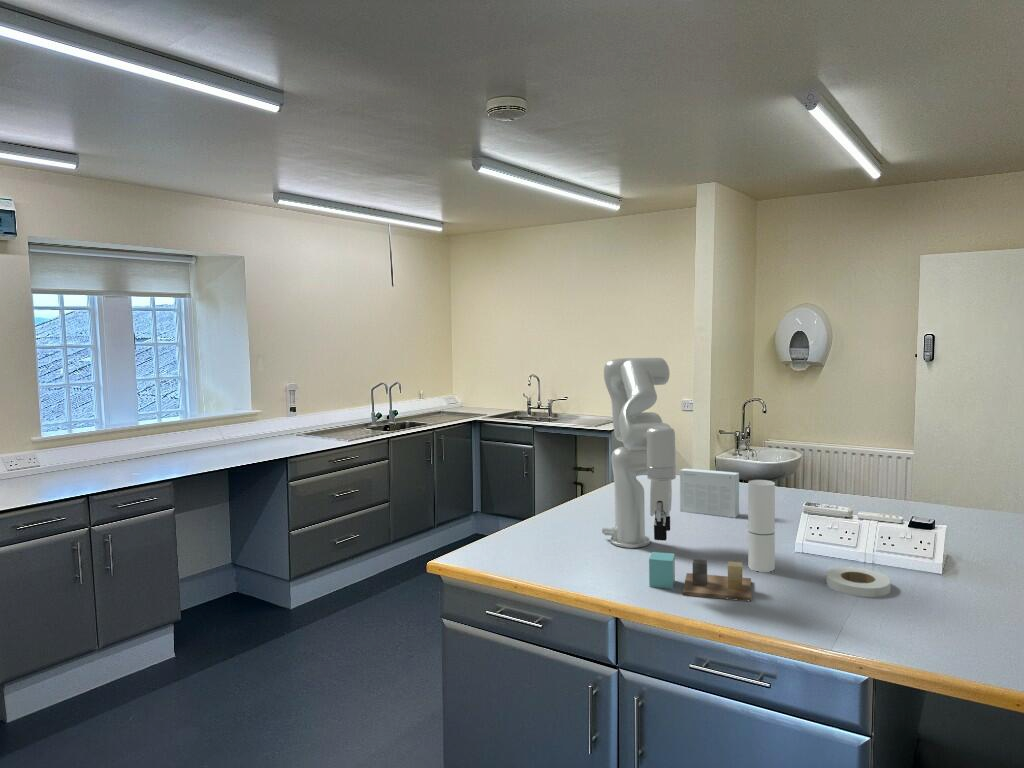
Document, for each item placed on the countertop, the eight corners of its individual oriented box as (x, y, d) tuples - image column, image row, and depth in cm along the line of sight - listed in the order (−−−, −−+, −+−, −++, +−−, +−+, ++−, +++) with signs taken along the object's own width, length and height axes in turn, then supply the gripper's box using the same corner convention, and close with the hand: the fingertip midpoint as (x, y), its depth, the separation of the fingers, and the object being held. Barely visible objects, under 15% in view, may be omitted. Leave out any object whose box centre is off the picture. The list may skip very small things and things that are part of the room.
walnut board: (682, 595, 182) (682, 569, 181) (686, 576, 195) (686, 552, 195) (751, 601, 177) (751, 574, 176) (750, 581, 190) (750, 556, 189)
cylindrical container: (774, 565, 202) (774, 480, 200) (774, 573, 196) (775, 486, 194) (748, 562, 205) (748, 479, 203) (748, 571, 198) (748, 484, 196)
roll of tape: (888, 602, 175) (888, 591, 174) (822, 591, 183) (822, 581, 182) (892, 582, 188) (892, 572, 187) (830, 573, 196) (830, 563, 195)
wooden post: (727, 588, 183) (727, 565, 183) (728, 583, 187) (728, 561, 186) (742, 589, 182) (742, 567, 182) (742, 584, 186) (742, 562, 185)
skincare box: (739, 514, 256) (739, 472, 255) (735, 518, 252) (735, 475, 250) (684, 508, 267) (683, 467, 266) (679, 511, 263) (678, 470, 262)
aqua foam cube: (649, 586, 188) (649, 559, 188) (652, 578, 194) (651, 551, 194) (672, 588, 187) (672, 560, 186) (674, 580, 192) (674, 553, 192)
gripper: (651, 466, 197) (652, 526, 198) (643, 478, 181) (644, 543, 182) (678, 467, 195) (679, 527, 196) (672, 479, 178) (673, 544, 179)
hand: (662, 535), depth 189 cm, fingers open, 9 cm apart
